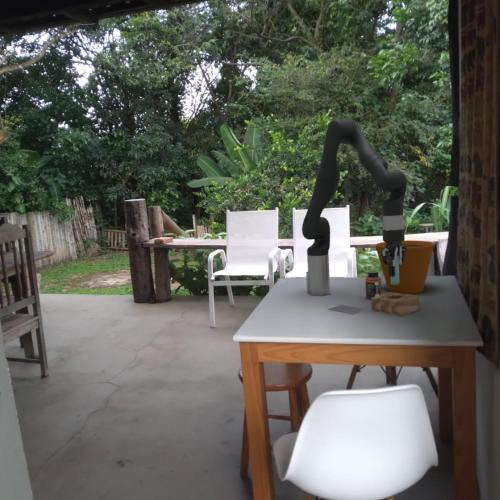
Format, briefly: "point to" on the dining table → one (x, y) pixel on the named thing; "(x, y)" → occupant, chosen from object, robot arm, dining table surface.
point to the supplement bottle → (373, 285)
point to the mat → (347, 309)
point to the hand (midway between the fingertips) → (394, 275)
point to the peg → (396, 272)
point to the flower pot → (409, 266)
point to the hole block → (395, 303)
